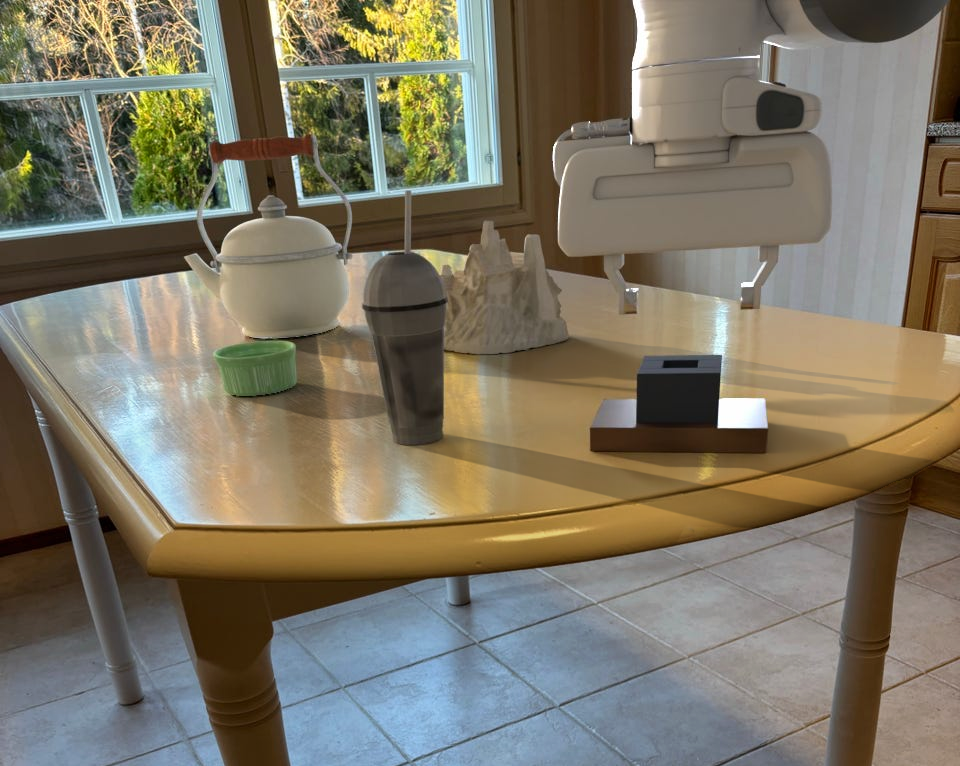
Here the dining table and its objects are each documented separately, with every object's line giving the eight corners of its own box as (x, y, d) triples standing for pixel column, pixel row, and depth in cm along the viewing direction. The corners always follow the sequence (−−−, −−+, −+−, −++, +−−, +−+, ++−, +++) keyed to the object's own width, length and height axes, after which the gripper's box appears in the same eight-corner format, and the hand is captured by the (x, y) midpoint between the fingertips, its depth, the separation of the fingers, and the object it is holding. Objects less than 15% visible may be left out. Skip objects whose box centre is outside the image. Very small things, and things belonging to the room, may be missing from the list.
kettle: (377, 315, 142) (356, 130, 130) (350, 339, 127) (323, 131, 115) (221, 323, 146) (187, 144, 134) (176, 347, 130) (132, 146, 118)
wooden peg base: (763, 421, 81) (768, 362, 78) (766, 453, 73) (771, 389, 71) (603, 420, 84) (603, 364, 82) (589, 451, 77) (589, 390, 74)
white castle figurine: (584, 338, 116) (574, 207, 109) (466, 364, 110) (448, 227, 104) (527, 329, 129) (515, 211, 122) (418, 351, 123) (399, 229, 117)
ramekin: (315, 379, 106) (310, 340, 104) (275, 400, 99) (268, 358, 97) (249, 378, 109) (242, 339, 107) (204, 398, 102) (196, 357, 100)
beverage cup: (368, 433, 85) (338, 194, 76) (443, 421, 87) (423, 186, 78) (390, 454, 79) (360, 197, 70) (469, 441, 81) (451, 188, 72)
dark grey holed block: (719, 402, 80) (722, 354, 78) (717, 423, 74) (720, 372, 72) (643, 402, 81) (643, 355, 79) (636, 423, 76) (636, 373, 74)
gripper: (544, 125, 67) (552, 323, 74) (845, 97, 62) (825, 313, 69) (558, 124, 72) (564, 309, 79) (836, 98, 67) (818, 298, 74)
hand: (688, 311), depth 74 cm, fingers open, 8 cm apart
